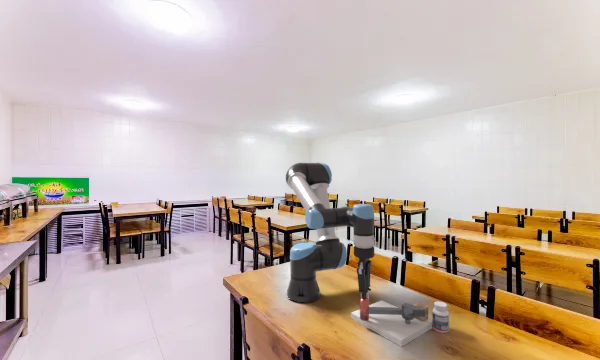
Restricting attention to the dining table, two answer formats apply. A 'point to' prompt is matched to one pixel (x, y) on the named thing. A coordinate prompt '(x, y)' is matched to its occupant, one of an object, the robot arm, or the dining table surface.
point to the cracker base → (393, 325)
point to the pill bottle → (440, 317)
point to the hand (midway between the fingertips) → (365, 308)
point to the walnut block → (425, 312)
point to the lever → (390, 310)
